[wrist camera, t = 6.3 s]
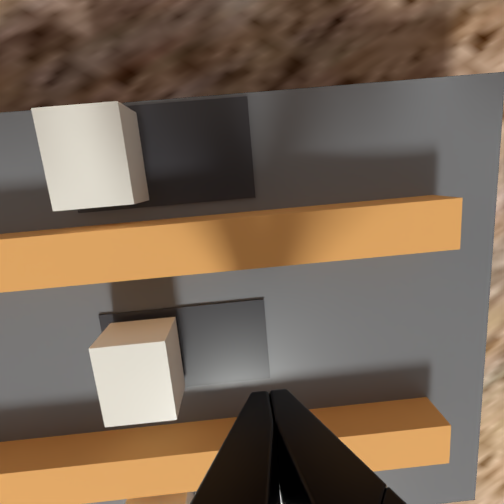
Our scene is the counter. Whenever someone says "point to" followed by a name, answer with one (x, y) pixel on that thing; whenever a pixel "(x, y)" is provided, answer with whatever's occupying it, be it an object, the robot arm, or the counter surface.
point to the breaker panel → (271, 278)
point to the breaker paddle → (138, 371)
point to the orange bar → (228, 242)
